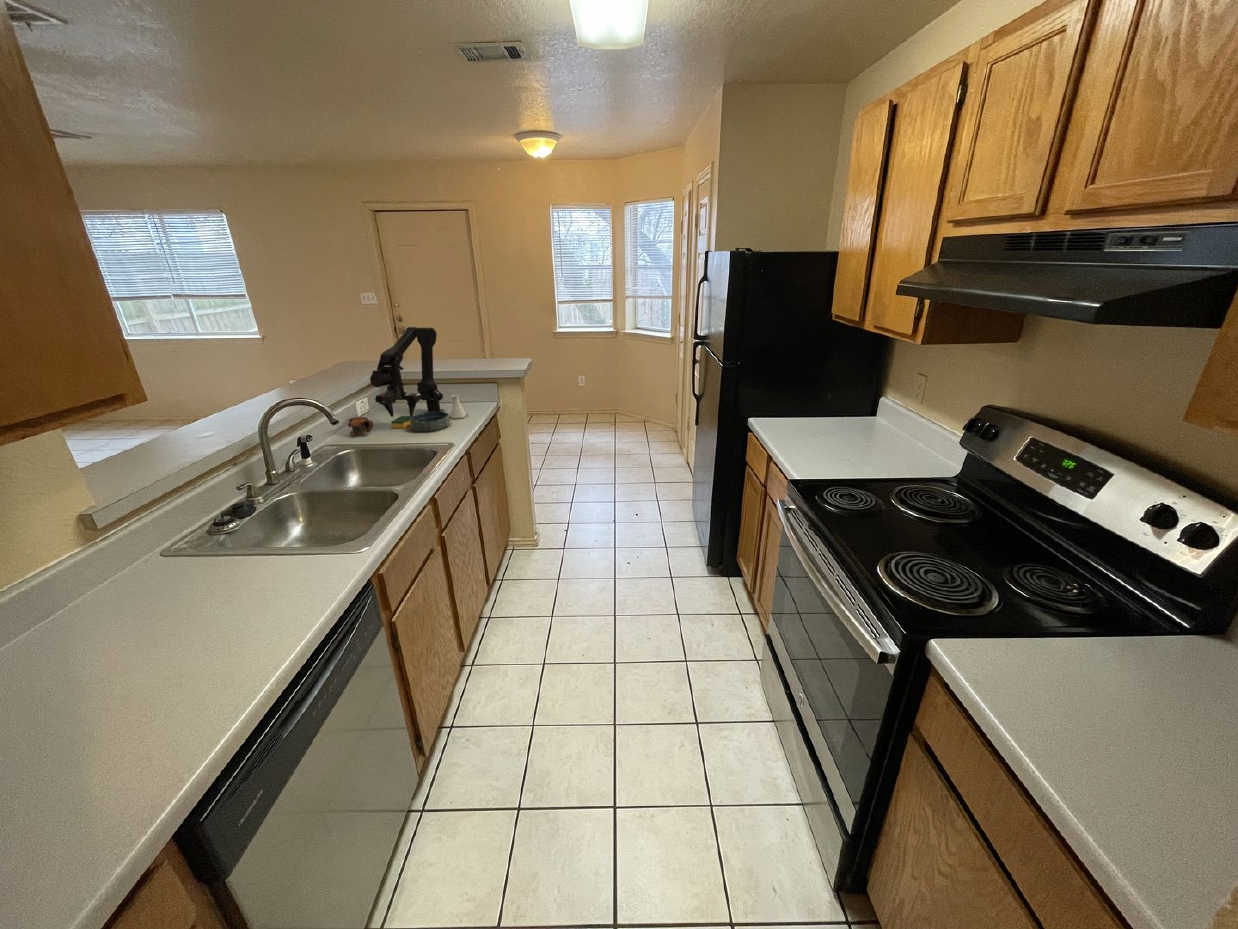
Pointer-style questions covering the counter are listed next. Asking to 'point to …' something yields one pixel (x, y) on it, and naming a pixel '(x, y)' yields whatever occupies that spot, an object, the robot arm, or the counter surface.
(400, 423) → the sponge
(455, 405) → the flask
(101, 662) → the counter surface
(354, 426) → the pottery mug
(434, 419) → the bowl
